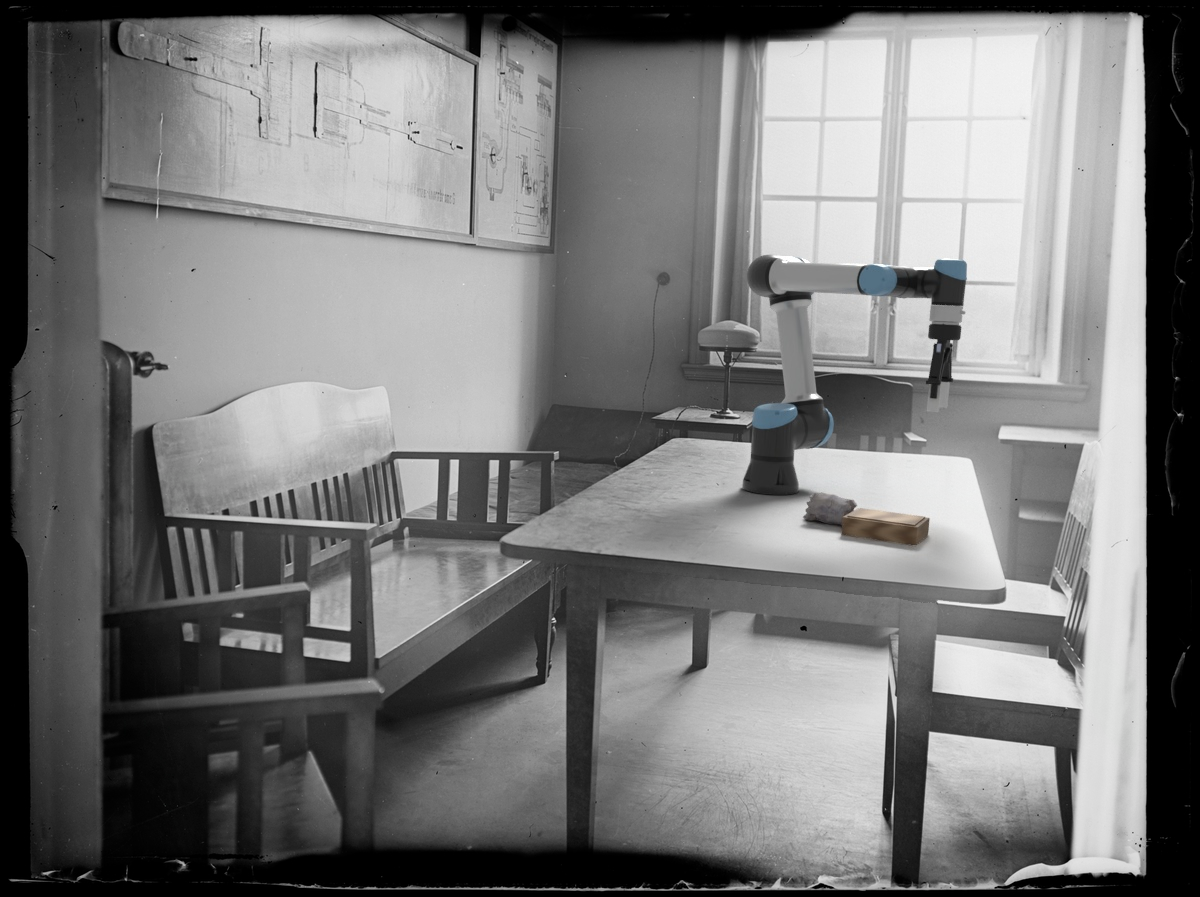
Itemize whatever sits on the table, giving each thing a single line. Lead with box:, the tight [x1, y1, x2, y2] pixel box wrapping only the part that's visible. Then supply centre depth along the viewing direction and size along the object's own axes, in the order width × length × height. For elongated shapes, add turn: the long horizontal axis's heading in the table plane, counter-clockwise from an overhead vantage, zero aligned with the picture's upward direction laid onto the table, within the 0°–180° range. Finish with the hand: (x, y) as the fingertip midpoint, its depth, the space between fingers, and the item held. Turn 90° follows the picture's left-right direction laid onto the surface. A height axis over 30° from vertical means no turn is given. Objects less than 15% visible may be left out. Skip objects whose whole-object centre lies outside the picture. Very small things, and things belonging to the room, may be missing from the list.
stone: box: [802, 492, 858, 526], centre depth 223 cm, size 8×12×7 cm, turn 56°
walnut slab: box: [841, 507, 931, 547], centre depth 212 cm, size 16×12×4 cm
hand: (937, 409), depth 238 cm, fingers open, 13 cm apart
